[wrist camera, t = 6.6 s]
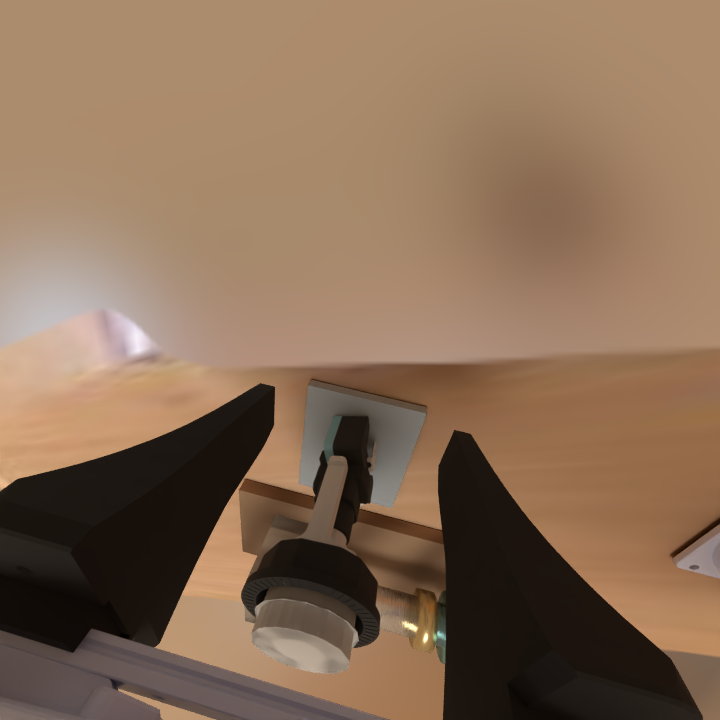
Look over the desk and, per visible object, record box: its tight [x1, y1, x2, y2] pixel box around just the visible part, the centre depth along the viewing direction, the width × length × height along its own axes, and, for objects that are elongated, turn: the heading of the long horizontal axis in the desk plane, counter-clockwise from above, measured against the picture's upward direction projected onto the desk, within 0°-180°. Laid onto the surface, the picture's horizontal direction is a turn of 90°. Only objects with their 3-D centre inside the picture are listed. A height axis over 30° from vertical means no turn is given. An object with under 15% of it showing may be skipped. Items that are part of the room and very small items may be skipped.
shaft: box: [376, 585, 446, 664], centre depth 22 cm, size 15×4×4 cm, turn 81°
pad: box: [299, 380, 427, 508], centre depth 20 cm, size 7×9×1 cm
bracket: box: [239, 479, 446, 623], centre depth 23 cm, size 19×9×6 cm, turn 81°
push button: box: [241, 416, 381, 674], centre depth 15 cm, size 7×5×10 cm
